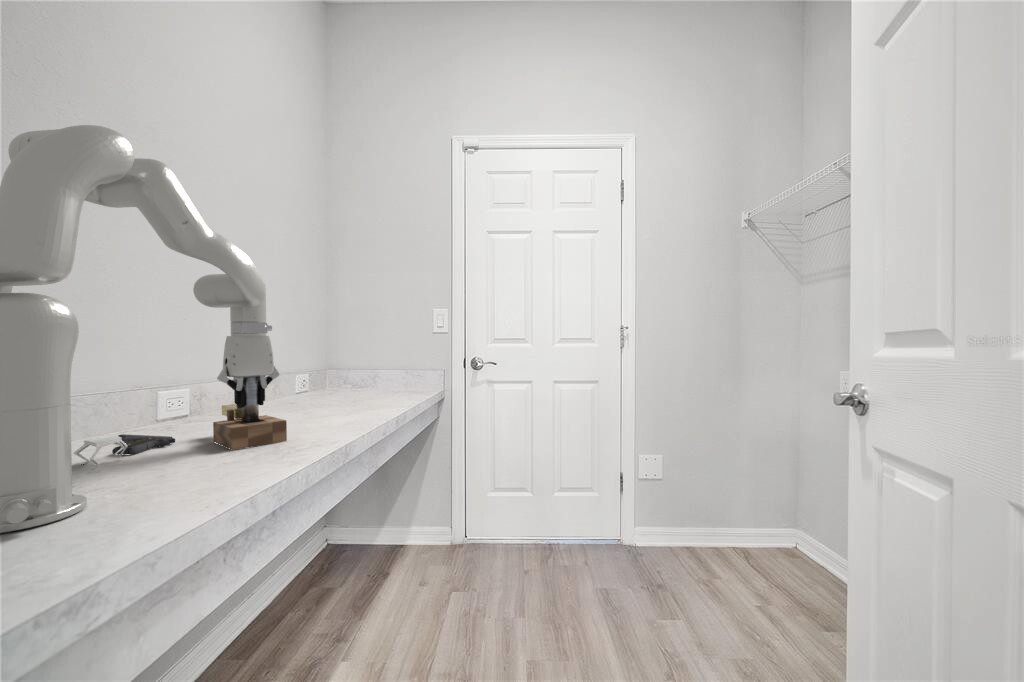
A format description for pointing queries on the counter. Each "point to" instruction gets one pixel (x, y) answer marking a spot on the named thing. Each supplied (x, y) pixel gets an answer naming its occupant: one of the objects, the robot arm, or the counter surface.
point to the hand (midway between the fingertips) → (250, 405)
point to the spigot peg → (250, 400)
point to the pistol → (142, 443)
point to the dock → (249, 431)
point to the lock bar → (234, 407)
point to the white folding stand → (100, 443)
